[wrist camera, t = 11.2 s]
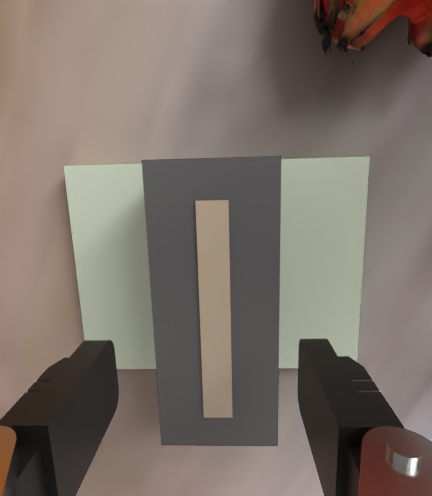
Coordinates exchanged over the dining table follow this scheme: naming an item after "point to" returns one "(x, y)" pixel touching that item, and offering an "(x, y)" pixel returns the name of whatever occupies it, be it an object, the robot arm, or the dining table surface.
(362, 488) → the robot arm
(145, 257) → the board
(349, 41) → the dragon fruit
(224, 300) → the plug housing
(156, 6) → the dining table surface
